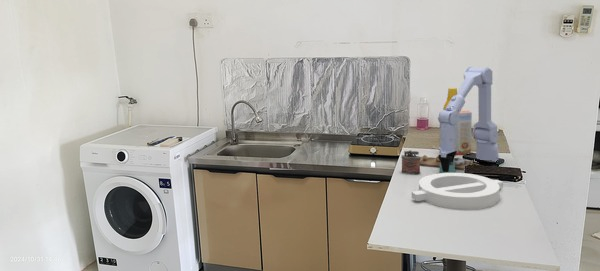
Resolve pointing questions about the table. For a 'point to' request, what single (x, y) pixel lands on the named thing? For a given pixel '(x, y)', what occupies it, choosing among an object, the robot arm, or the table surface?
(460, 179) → the ring with crossbar
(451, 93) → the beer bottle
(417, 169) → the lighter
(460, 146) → the cracker box
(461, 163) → the board
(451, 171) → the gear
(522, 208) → the table surface
